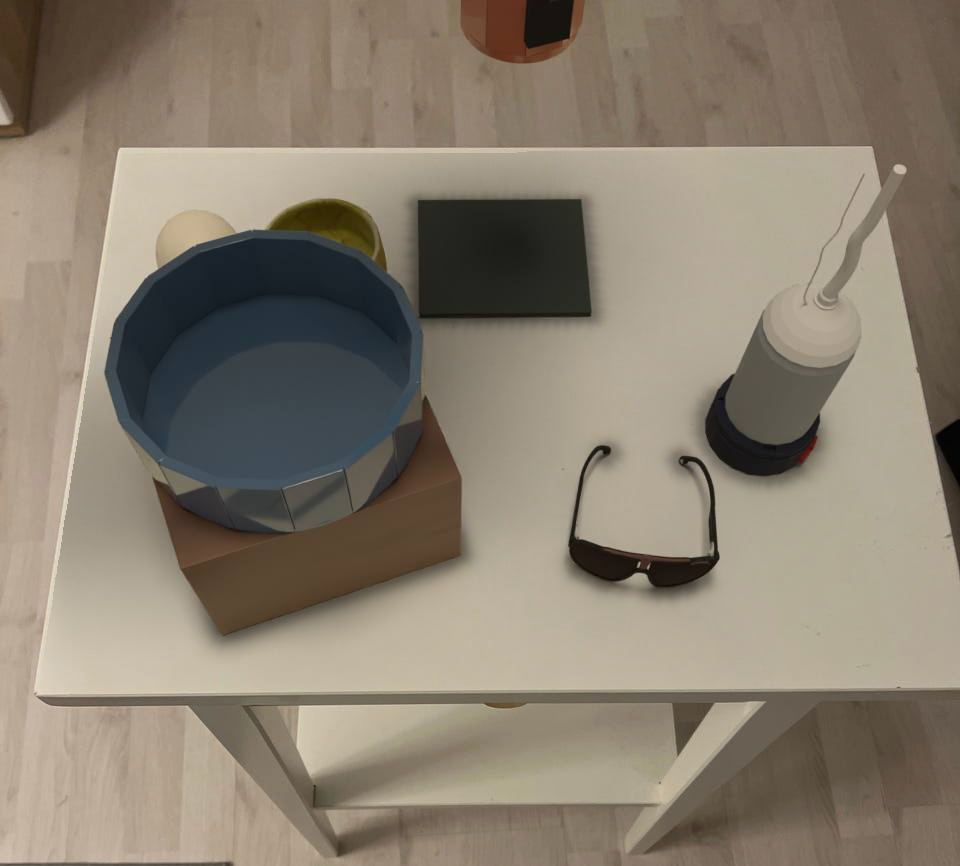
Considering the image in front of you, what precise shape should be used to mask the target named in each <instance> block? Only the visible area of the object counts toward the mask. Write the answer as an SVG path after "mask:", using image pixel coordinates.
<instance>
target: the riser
mask: <svg viewBox="0 0 960 866" xmlns="http://www.w3.org/2000/svg"><path fill="white" fill-rule="evenodd" d="M109 339H110V340H111V336H110V337H109ZM110 340H109V341H110ZM450 449H451V448H450V447H449V445H448V442H447V440H446V438H445V435H444V433H443V431H442V429H441V426H440V423H439V421H438V419H437V417H436V415H435V412H434V410H433V408H432V405H431V403H430V401H429V398H428V395H427V394H426V393H425V412H424V427H423V432H422V434H421V436H420V438H419V440H418V443H417V445H416V447H415V450H414V452H413V454H412V456H411V458H410V460H409V461H408V463H407V464H406V466H405V467H404V469H403V471H402V472H401V473H400V474H399V476H398V477H397V478H396V479H395V480H394V481H393V483H392V484H391V485H390V486H389V487H388V488H387V489H386V490H385V491H383V492H382V493H381V494H380V495H379V496H378V497H377V498H376V499H374V500H373V501H371V502H370V503H368V504H367V505H366V506H364V507H363V508H361V509H360V510H358V511H356V512H354V513H352V514H350V515H348V516H346V517H345V518H342V519H340V520H337V521H335V522H332V523H329V524H327V525H324V526H320V527H316V528H312V529H309V530H303V531H296V532H289V533H256V532H246V531H242V530H237V529H232V528H228V527H225V526H222V525H219V524H216V523H213V522H210V521H208V520H206V519H204V518H202V517H200V516H198V515H196V514H194V513H192V512H191V511H189V510H188V509H186V508H183V507H182V506H180V505H179V504H178V503H177V502H176V501H175V500H174V499H173V498H172V497H171V496H170V495H169V494H168V493H167V492H166V491H165V490H164V489H163V488H162V487H161V485H160V484H159V483H158V482H157V481H156V479H155V478H154V477H153V476H152V475H151V477H152V480H153V485H154V487H155V490H156V494H157V498H158V501H159V504H160V507H161V511H162V514H163V517H164V521H165V523H166V528H167V530H168V533H169V536H170V540H171V543H172V546H173V550H174V553H175V556H176V560H177V563H178V566H179V569H180V571H181V573H182V574H183V575H184V577H185V579H186V581H187V582H188V584H189V586H190V587H191V588H192V590H193V592H194V593H195V595H196V596H197V598H198V599H199V601H200V603H201V604H202V606H203V608H204V609H205V611H206V612H207V615H208V616H209V617H210V619H211V620H212V622H213V623H214V625H215V627H216V628H217V629H218V631H219V633H220V634H221V636H225V635H227V634H231V633H234V632H237V631H240V630H243V629H245V628H249V627H251V626H254V625H257V624H261V623H263V622H267V621H269V620H272V619H275V618H278V617H282V616H283V615H287V614H290V613H293V612H296V611H299V610H302V609H306V608H308V607H310V606H314V605H317V604H320V603H323V602H326V601H329V600H331V599H335V598H337V597H340V596H345V595H347V594H349V593H353V592H355V591H358V590H362V589H364V588H367V587H370V586H373V585H377V584H379V583H382V582H385V581H388V580H391V579H395V578H397V577H400V576H403V575H406V574H409V573H412V572H415V571H418V570H420V569H424V568H426V567H429V566H432V565H435V564H439V563H442V562H444V561H445V562H446V561H448V560H450V559H453V558H457V557H459V556H461V555H462V554H461V553H462V493H463V477H462V474H461V472H460V470H459V468H458V466H457V463H456V460H455V458H454V456H453V454H452V452H451V450H450Z"/></svg>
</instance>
